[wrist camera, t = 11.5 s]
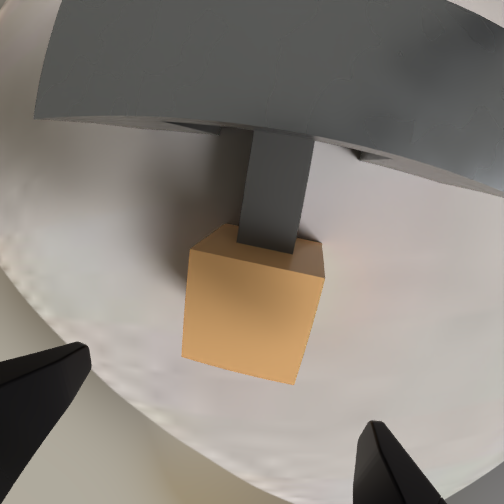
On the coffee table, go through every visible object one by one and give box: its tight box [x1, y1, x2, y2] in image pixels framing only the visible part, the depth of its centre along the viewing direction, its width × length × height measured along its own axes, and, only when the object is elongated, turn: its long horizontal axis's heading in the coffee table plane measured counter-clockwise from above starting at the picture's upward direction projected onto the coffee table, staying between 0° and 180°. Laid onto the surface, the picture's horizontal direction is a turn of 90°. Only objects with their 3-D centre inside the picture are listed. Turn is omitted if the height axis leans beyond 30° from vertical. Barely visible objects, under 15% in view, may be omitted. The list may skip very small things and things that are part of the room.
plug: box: [182, 130, 325, 385], centre depth 12 cm, size 24×5×5 cm, turn 171°
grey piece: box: [34, 0, 504, 198], centre depth 10 cm, size 5×16×8 cm, turn 81°
